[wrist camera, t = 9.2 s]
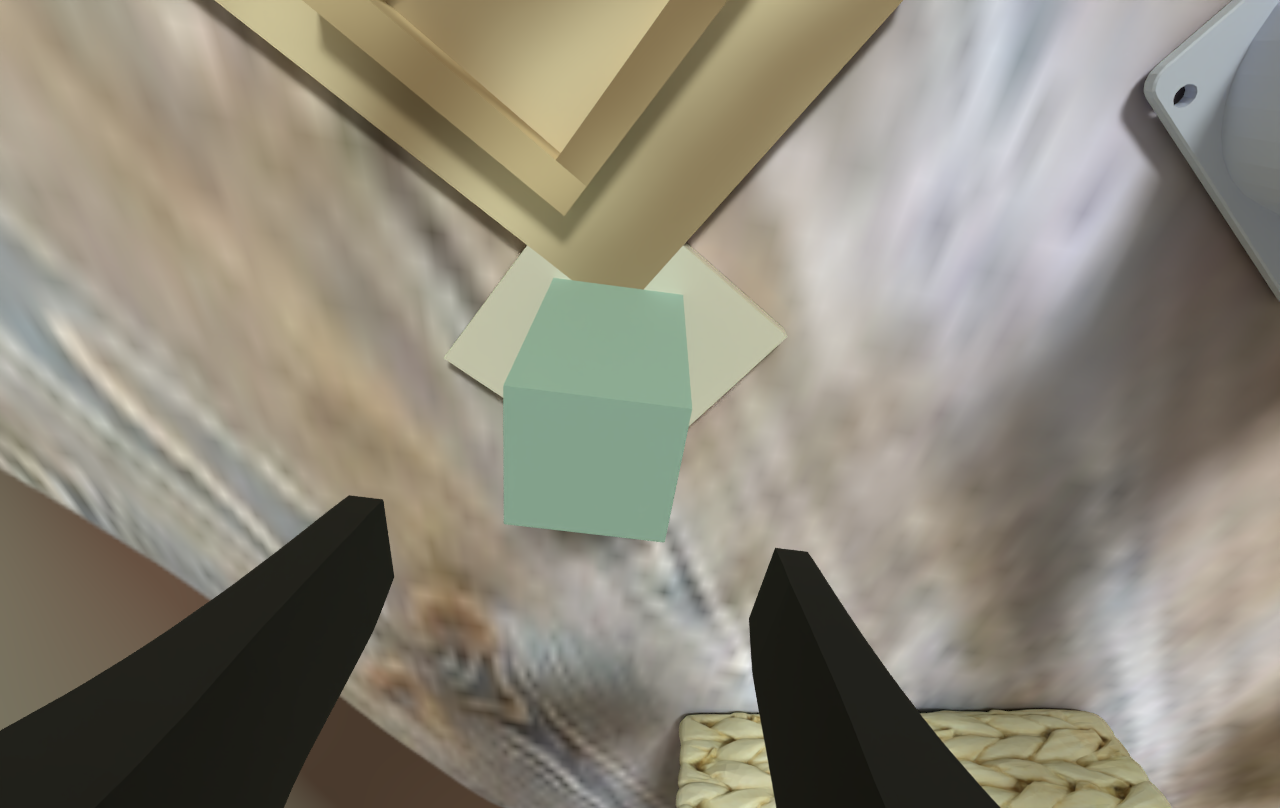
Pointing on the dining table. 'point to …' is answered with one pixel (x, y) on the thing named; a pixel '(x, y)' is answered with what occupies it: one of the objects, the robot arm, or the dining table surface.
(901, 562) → the dining table surface
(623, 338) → the block
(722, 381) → the coaster
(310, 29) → the pocket board
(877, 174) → the dining table surface
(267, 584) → the robot arm
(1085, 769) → the storage basket
